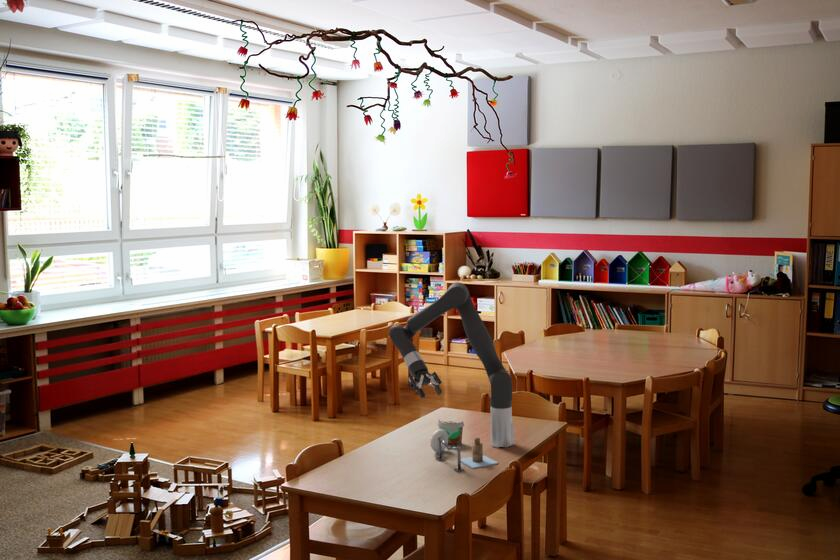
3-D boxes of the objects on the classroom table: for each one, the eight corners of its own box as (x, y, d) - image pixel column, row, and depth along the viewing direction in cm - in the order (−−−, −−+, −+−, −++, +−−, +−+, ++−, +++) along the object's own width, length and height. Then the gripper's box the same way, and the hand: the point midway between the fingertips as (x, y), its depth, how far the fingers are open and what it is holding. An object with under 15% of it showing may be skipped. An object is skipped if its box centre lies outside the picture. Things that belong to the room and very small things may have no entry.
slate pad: (482, 456, 331) (482, 454, 331) (498, 463, 320) (498, 462, 320) (457, 460, 325) (457, 459, 325) (472, 469, 315) (472, 467, 315)
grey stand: (441, 458, 330) (441, 435, 329) (464, 471, 313) (463, 446, 312) (435, 459, 328) (434, 436, 327) (457, 472, 311) (457, 448, 310)
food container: (433, 445, 348) (433, 422, 347) (438, 441, 354) (438, 419, 353) (460, 447, 343) (459, 424, 343) (464, 443, 349) (464, 421, 348)
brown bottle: (479, 458, 326) (479, 436, 325) (484, 461, 322) (484, 438, 321) (470, 460, 324) (470, 437, 323) (475, 463, 320) (475, 440, 319)
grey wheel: (435, 455, 333) (434, 432, 332) (429, 454, 335) (428, 431, 334) (450, 450, 340) (449, 427, 339) (443, 448, 342) (443, 426, 342)
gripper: (405, 361, 332) (422, 393, 324) (432, 357, 340) (449, 388, 332) (398, 371, 336) (414, 403, 328) (425, 367, 345) (441, 398, 337)
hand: (432, 395), depth 330 cm, fingers open, 8 cm apart
